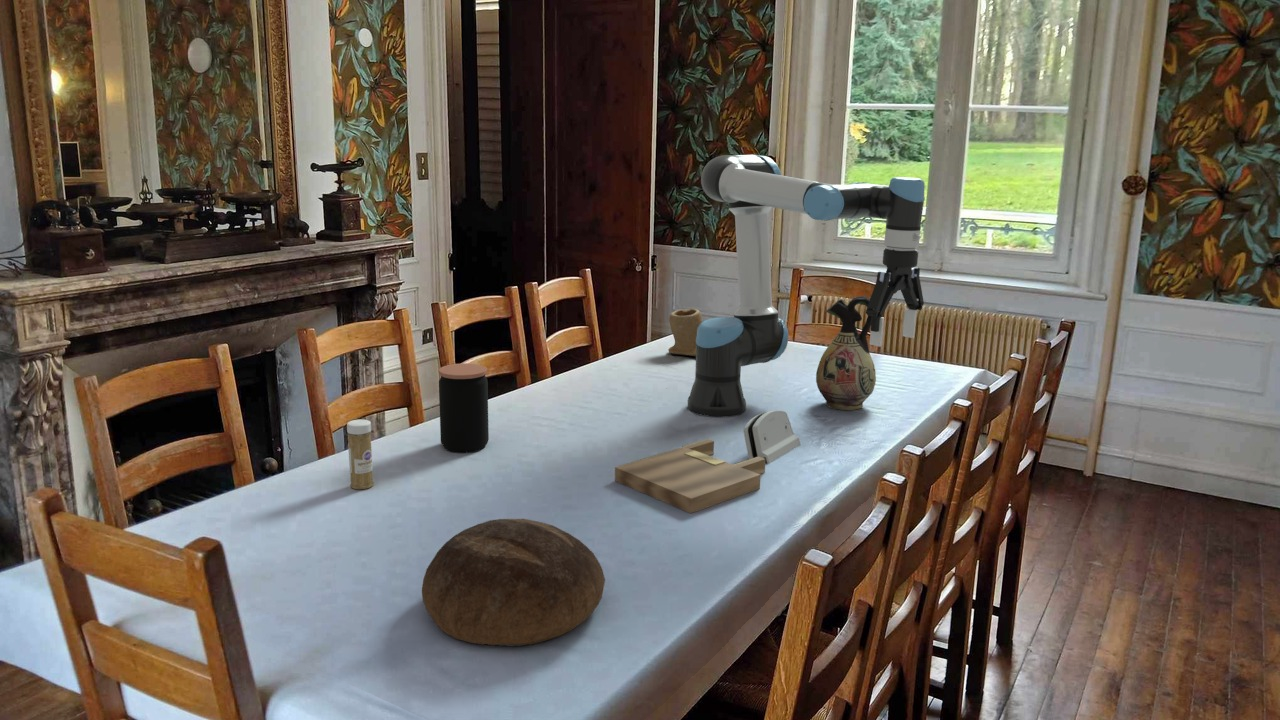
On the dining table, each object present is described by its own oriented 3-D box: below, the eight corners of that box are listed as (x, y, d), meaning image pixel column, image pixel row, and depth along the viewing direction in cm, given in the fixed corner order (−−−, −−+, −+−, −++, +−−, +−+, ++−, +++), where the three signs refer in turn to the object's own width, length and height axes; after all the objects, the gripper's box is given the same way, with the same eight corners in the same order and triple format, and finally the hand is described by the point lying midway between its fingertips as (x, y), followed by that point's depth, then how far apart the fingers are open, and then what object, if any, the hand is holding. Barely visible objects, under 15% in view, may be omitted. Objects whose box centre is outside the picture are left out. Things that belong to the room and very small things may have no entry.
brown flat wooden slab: (613, 480, 197) (613, 465, 196) (707, 451, 215) (707, 438, 214) (690, 513, 181) (691, 497, 180) (784, 479, 199) (785, 464, 198)
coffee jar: (497, 442, 218) (496, 366, 214) (470, 456, 209) (469, 377, 204) (459, 435, 223) (457, 361, 218) (431, 449, 213) (428, 371, 209)
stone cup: (661, 356, 303) (662, 310, 299) (677, 349, 313) (678, 304, 310) (704, 362, 296) (706, 315, 293) (719, 355, 307) (721, 309, 303)
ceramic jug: (808, 410, 249) (815, 296, 241) (820, 395, 262) (828, 287, 255) (874, 418, 242) (884, 302, 235) (883, 403, 256) (892, 293, 249)
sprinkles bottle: (365, 491, 188) (362, 426, 185) (345, 488, 189) (341, 424, 186) (378, 483, 192) (375, 420, 189) (358, 480, 194) (355, 417, 190)
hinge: (768, 464, 208) (756, 420, 208) (750, 466, 211) (738, 423, 211) (801, 444, 222) (790, 402, 221) (783, 446, 224) (773, 406, 224)
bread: (530, 675, 127) (529, 585, 124) (387, 618, 141) (383, 536, 138) (634, 597, 148) (636, 519, 145) (501, 555, 162) (500, 482, 159)
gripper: (884, 254, 201) (875, 352, 206) (945, 246, 218) (935, 336, 223) (854, 250, 206) (846, 345, 211) (916, 242, 223) (907, 330, 228)
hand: (892, 341), depth 217 cm, fingers open, 13 cm apart
